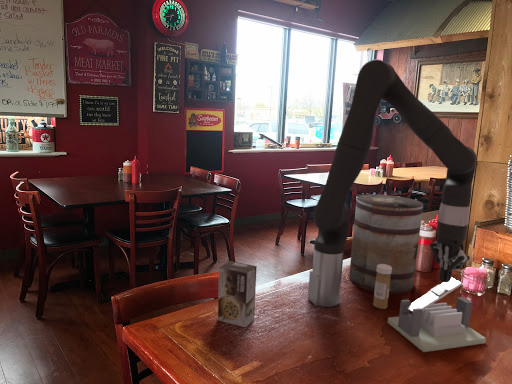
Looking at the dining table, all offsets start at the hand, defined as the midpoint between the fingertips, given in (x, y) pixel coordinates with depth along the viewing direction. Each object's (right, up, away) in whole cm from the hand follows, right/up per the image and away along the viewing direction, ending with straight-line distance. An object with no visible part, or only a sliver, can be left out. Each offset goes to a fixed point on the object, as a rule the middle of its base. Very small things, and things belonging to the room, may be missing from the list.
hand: (444, 281), depth 119 cm
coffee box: (-58, -12, +4) cm, 59 cm away
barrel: (-7, -8, +38) cm, 40 cm away
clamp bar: (-3, -4, 0) cm, 5 cm away
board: (-2, -15, +3) cm, 15 cm away
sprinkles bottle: (-13, -12, +18) cm, 25 cm away
